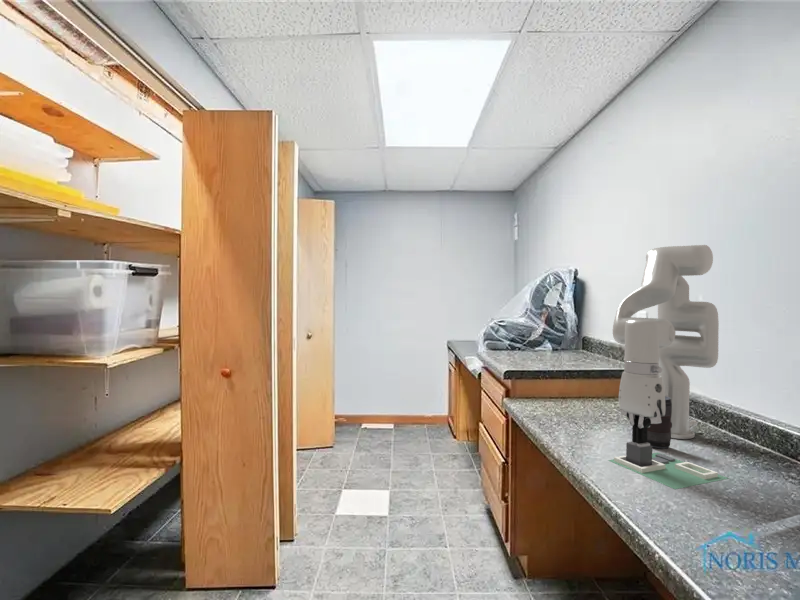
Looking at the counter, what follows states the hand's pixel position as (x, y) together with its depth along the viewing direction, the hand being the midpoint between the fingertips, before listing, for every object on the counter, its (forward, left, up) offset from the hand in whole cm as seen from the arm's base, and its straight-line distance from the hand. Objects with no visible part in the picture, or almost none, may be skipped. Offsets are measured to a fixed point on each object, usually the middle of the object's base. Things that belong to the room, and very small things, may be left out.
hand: (639, 442), depth 108 cm
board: (-4, +4, -7) cm, 9 cm away
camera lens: (-18, -10, -7) cm, 22 cm away
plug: (0, 0, -6) cm, 6 cm away
